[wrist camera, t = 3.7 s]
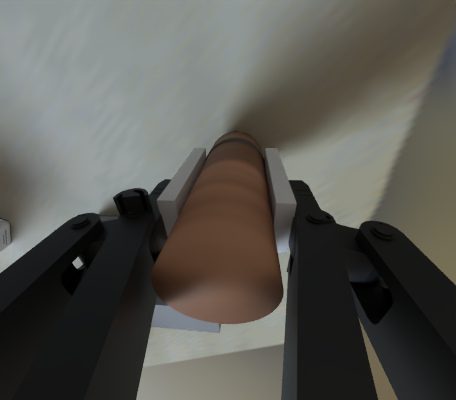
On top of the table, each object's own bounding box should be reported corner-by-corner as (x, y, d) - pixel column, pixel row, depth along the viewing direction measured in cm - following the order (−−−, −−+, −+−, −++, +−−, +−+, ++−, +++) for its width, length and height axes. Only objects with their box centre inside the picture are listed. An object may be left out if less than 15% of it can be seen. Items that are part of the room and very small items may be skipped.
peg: (210, 128, 15) (131, 239, 5) (264, 127, 15) (295, 247, 5) (214, 176, 17) (165, 319, 7) (260, 176, 17) (277, 329, 7)
